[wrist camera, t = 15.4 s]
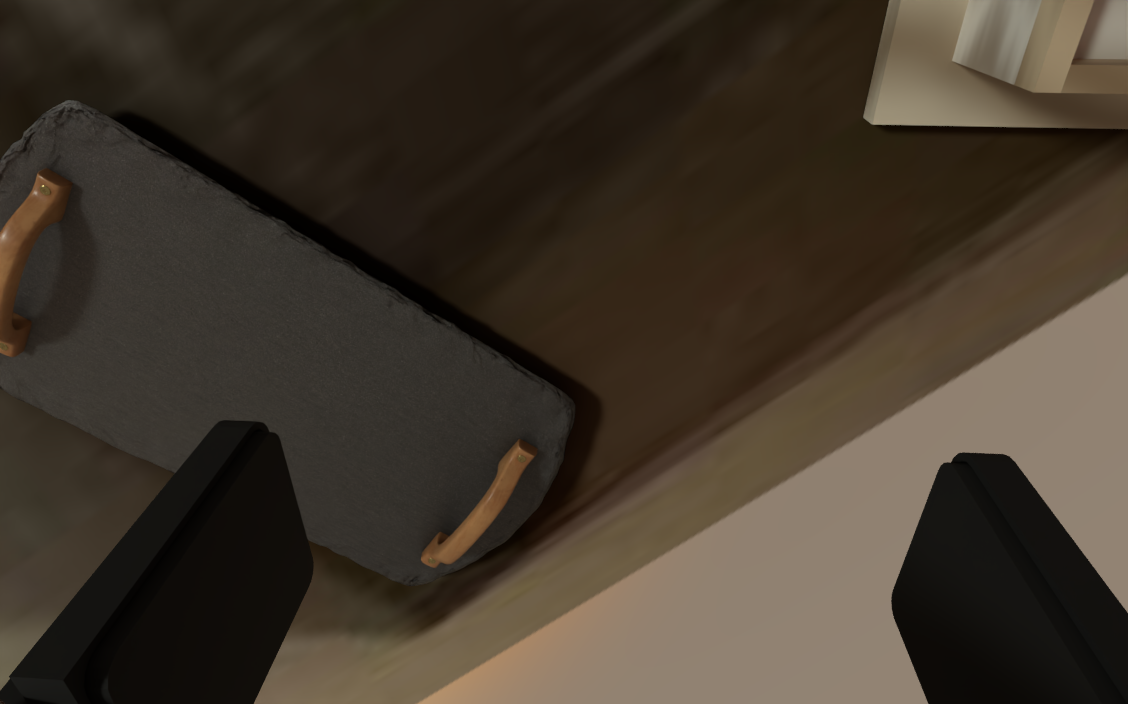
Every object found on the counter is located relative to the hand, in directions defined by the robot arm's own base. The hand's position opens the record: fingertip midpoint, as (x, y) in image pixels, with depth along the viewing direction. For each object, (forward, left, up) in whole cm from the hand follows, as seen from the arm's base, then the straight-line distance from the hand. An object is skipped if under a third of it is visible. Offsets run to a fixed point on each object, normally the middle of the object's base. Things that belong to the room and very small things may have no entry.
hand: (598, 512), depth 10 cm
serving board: (+19, -21, -31) cm, 42 cm away
